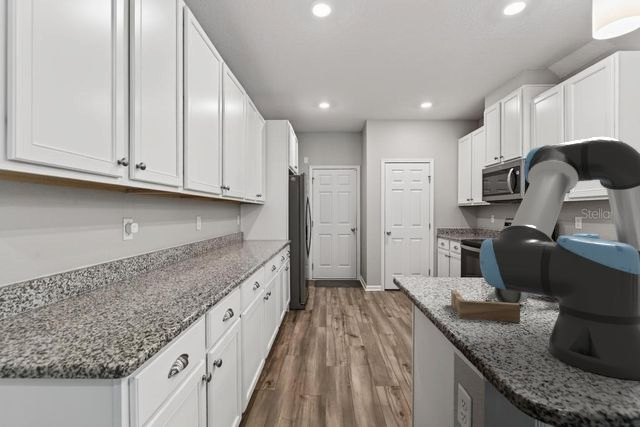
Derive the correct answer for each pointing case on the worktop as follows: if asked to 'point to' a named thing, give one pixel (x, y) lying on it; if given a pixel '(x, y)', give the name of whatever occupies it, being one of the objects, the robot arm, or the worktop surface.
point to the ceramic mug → (508, 296)
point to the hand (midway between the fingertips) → (517, 284)
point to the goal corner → (485, 309)
